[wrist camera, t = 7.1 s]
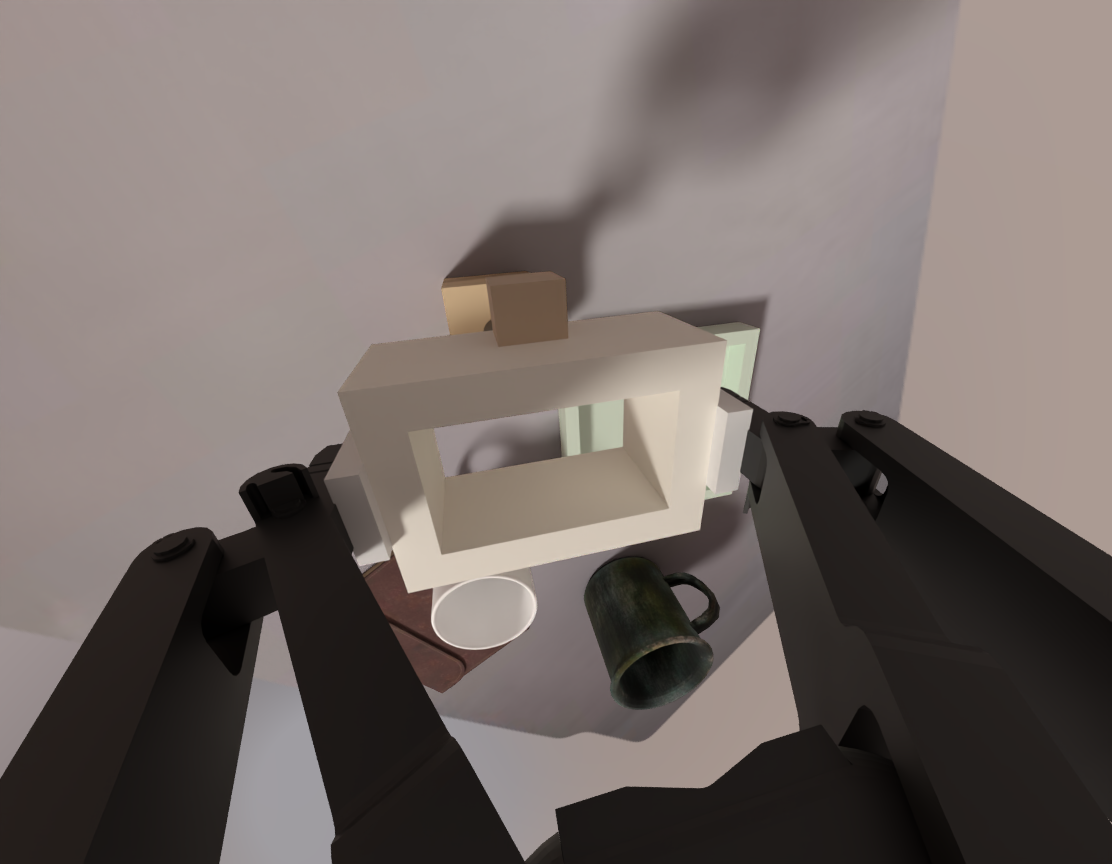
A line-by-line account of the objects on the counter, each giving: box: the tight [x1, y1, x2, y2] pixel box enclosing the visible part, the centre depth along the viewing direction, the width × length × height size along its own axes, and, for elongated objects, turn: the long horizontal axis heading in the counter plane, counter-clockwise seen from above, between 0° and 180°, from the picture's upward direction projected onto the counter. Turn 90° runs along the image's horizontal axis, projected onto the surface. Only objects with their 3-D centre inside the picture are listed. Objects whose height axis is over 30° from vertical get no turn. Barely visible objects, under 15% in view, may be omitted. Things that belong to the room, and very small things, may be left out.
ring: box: [337, 271, 727, 593], centre depth 12 cm, size 9×8×4 cm
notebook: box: [363, 551, 530, 693], centre depth 45 cm, size 15×20×2 cm
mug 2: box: [584, 557, 720, 710], centre depth 45 cm, size 11×15×12 cm
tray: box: [558, 322, 760, 500], centre depth 39 cm, size 18×18×3 cm
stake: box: [441, 271, 529, 335], centre depth 27 cm, size 6×6×13 cm
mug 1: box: [431, 567, 538, 650], centre depth 36 cm, size 9×12×11 cm
